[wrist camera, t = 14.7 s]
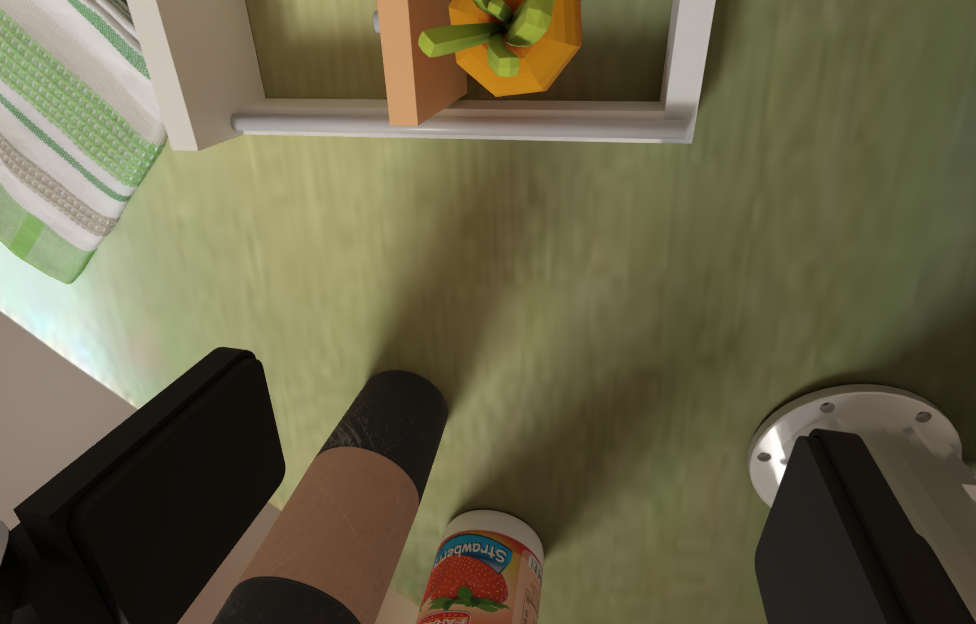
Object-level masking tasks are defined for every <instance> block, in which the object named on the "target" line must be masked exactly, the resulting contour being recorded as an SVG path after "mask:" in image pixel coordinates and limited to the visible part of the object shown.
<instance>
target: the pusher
mask: <svg viewBox="0 0 976 624" xmlns="http://www.w3.org/2000/svg"><path fill="white" fill-rule="evenodd" d="M450 2H451V0H377V7H378V11H375V12H374V14H373V24H374V28H375V31H376V32H377V33H380V36H381V45H382V55H383V64H384V74H385V83H386V93H387V102H388V111H389V121H390V126H419V125H420V124H422V123H423V122H425V121H426V120H428V119H429V118H431V117H432V116H434V115H435V114H437V113H438V112H440V111H441V110H443V109H444V108H446V107H447V106H449V105H450V104H452V103H453V102H455V101H456V100H458V99H459V98H461V97H462V96H464V95H465V94H467V72H466V71H465V70H464V69H463V68H462V67H460V66H459V65H458V64H457V62H456V55H455V52H454V53H450V54H447V55H443V56H439V57H428V56H427V55H426V54H425V53H424V52H423V51H422V50H421V48H420V47H419V45H418V41H419V37H420V35H421V33H422V32H423V31H425V30H428V29H431V28H436V27H442V26H449V25H451V21H450V14H449V7H448V5H449V4H450Z"/></svg>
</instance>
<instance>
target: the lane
mask: <svg viewBox="0 0 976 624" xmlns="http://www.w3.org/2000/svg"><path fill="white" fill-rule="evenodd" d="M715 1H716V0H673V2H672V9H671V17H670V25H669V32H668V40H667V48H666V55H665V63H664V71H663V78H662V86H661V94H660V101H659V102H648V101H530V100H456V101H455V102H453V103H452V104H450V105H449V106H447V107H446V108H444V109H443V110H441V111H440V112H438V113H437V114H435V115H434V116H432V117H431V118H429V119H428V120H426V121H425V122H423V123H422V124H420V125H419V126H390V121H389V111H388V102H387V99H295V98H265V93H264V89H263V84H262V79H261V74H260V70H259V65H258V60H257V56H256V51H255V46H254V41H253V37H252V32H251V27H250V22H249V18H248V13H247V8H246V3H245V0H127V4H128V7H129V10H130V13H131V17H132V20H133V23H134V26H135V30H136V33H137V36H138V39H139V43H140V46H141V49H142V53H143V56H144V59H145V62H146V66H147V69H148V72H149V75H150V79H151V82H152V85H153V89H154V92H155V95H156V98H157V102H158V105H159V108H160V111H161V115H162V118H163V121H164V125H165V128H166V131H167V134H168V138H169V141H170V144H171V147H172V150H186V151H199V150H202V149H205V148H207V147H210V146H213V145H216V144H218V143H221V142H224V141H226V140H229V139H232V138H235V137H237V136H240V135H243V134H255V135H302V136H350V137H397V138H444V139H492V140H539V141H587V142H634V143H682V144H692V140H693V134H694V128H695V122H696V116H697V110H698V104H699V98H700V92H701V86H702V80H703V74H704V68H705V62H706V55H707V49H708V43H709V37H710V31H711V25H712V19H713V13H714V7H715Z"/></svg>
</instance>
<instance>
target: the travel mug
mask: <svg viewBox="0 0 976 624" xmlns="http://www.w3.org/2000/svg"><path fill="white" fill-rule="evenodd" d="M446 420H447V406H446V403H445V401H444V398H443V397H442V395H441V393H440V392H439V391H438V390H437V388H436V387H435V386H433V385H432V384H431V383H430V382H429V381H427V380H426V379H424V378H422V377H420V376H418V375H416V374H413V373H410V372H406V371H397V370H394V371H386V372H382V373H379V374H377V375H375V376H374V377H373V378H371V379H370V380H369V381H368V382H367V383H366V385H365V386H364V387H363V389H362V390H361V392H360V393H359V394H358V396H357V397H356V399H355V400H354V402H353V403H352V405H351V406H350V408H349V409H348V410H347V412H346V413H345V415H344V416H343V418H342V419H341V421H340V422H339V424H338V425H337V427H336V428H335V429H334V431H333V432H332V434H331V435H330V437H329V438H328V440H327V441H326V443H325V444H324V445H323V447H322V448H321V450H320V451H319V453H318V454H317V456H316V457H315V459H314V460H313V462H312V463H311V465H310V466H309V468H308V469H307V471H306V473H305V474H304V476H303V478H302V479H301V481H300V482H299V484H298V486H297V487H296V489H295V491H294V492H293V494H292V495H291V497H290V499H289V500H288V502H287V503H286V505H285V507H284V508H283V510H282V512H281V513H280V515H279V516H278V518H277V520H276V521H275V523H274V525H273V526H272V528H271V529H270V531H269V533H268V534H267V536H266V537H265V539H264V541H263V542H262V544H261V546H260V547H259V549H258V551H257V552H256V554H255V555H254V557H253V559H252V560H251V562H250V563H249V565H248V567H247V568H246V570H245V571H244V573H243V575H242V576H241V578H240V580H239V581H238V583H237V584H236V586H235V588H234V589H233V591H232V592H231V594H230V596H229V597H228V599H227V600H226V602H225V604H224V605H223V607H222V609H221V610H220V612H219V614H218V615H217V617H216V618H215V620H214V622H213V623H212V624H375V621H376V618H377V615H378V613H379V611H380V608H381V605H382V603H383V600H384V597H385V595H386V592H387V589H388V587H389V584H390V582H391V579H392V576H393V574H394V571H395V568H396V566H397V563H398V561H399V558H400V555H401V553H402V550H403V547H404V545H405V542H406V540H407V537H408V534H409V532H410V529H411V526H412V524H413V521H414V518H415V516H416V513H417V511H418V507H419V505H420V502H421V499H422V496H423V493H424V490H425V487H426V483H427V480H428V477H429V474H430V471H431V468H432V465H433V462H434V459H435V456H436V453H437V450H438V447H439V444H440V441H441V438H442V434H443V431H444V428H445V425H446Z"/></svg>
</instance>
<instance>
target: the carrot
mask: <svg viewBox="0 0 976 624" xmlns="http://www.w3.org/2000/svg"><path fill="white" fill-rule="evenodd" d="M448 7H449V14H450V21H451V25H449V26H442V27H436V28H431V29H428V30H425V31H423V32H422V33H421V35H420V37H419V41H418V45H419V47H420V48H421V50H422V51H423V52H424V53H425V54H426V55H427V56H428V57H439V56H443V55H447V54H450V53H454V52H455V55H456V62H457V64H458V65H459V66H460V67H462V68H463V69H464V70H465V71H466V72H467V73H469V74H470V75H471V76H472V77H473V78H474V79H476V80H477V81H478V82H479V83H480V84H481V85H483V86H484V87H485V88H486V89H487V90H488V91H490V92H491V93H492V94H493V95H494V96H495V97H499V96H508V95H516V94H525V93H533V92H541V91H547V90H548V89H549V87H550V86H551V85H552V83H553V82H554V81H555V80H556V78H557V77H558V76H559V74H560V73H561V72H562V70H563V69H564V68H565V67H566V65H567V64H568V63H569V61H570V60H571V59H572V58H573V56H574V55H575V54H576V52H577V51H578V50H579V48H580V47H581V45H582V28H581V6H580V0H451V2H450V4H449V5H448Z"/></svg>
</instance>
